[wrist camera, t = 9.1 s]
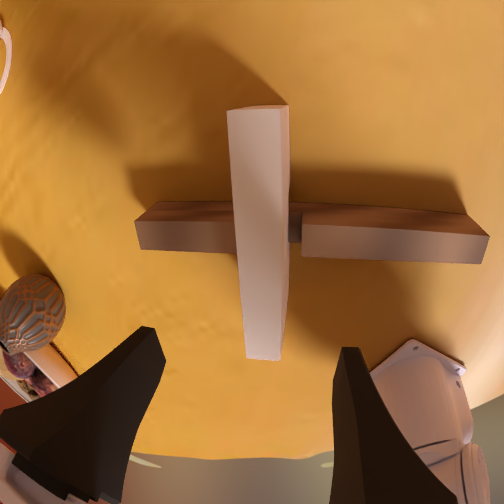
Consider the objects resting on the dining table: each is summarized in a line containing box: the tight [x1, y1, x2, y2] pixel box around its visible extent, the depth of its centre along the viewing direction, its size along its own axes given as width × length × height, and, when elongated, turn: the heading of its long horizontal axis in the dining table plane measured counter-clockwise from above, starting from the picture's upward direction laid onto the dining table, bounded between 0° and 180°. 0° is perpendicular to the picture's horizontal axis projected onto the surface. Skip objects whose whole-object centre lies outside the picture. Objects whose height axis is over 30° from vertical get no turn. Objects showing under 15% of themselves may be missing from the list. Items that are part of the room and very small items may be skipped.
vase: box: [0, 274, 66, 356], centre depth 22 cm, size 7×7×9 cm
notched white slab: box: [227, 105, 290, 361], centre depth 15 cm, size 12×2×6 cm, turn 3°
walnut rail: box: [134, 201, 490, 264], centre depth 16 cm, size 20×2×3 cm, turn 93°
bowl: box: [0, 300, 78, 402], centre depth 33 cm, size 30×30×8 cm
